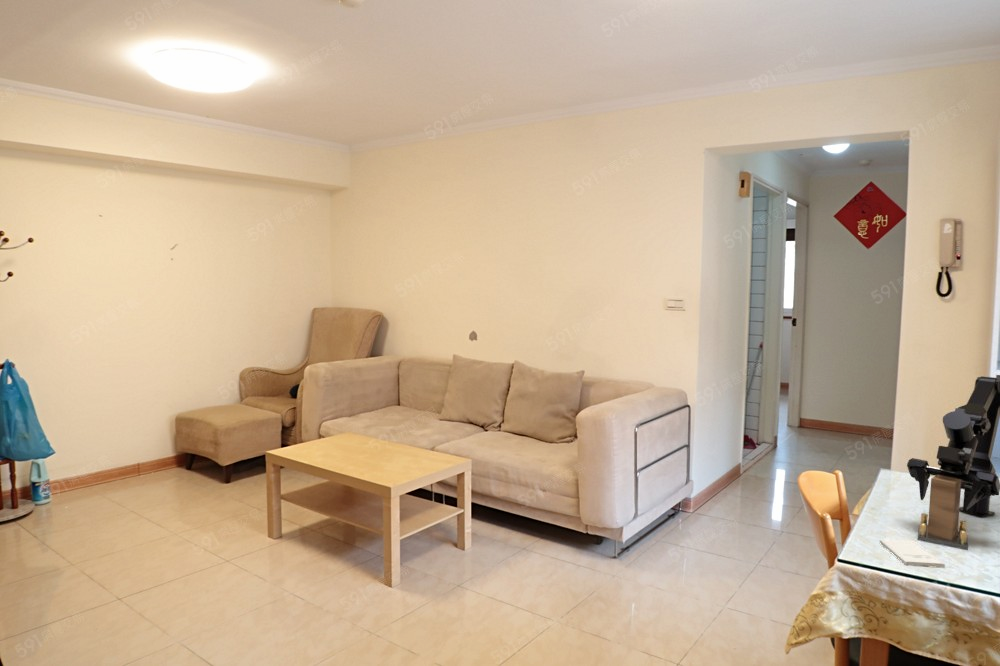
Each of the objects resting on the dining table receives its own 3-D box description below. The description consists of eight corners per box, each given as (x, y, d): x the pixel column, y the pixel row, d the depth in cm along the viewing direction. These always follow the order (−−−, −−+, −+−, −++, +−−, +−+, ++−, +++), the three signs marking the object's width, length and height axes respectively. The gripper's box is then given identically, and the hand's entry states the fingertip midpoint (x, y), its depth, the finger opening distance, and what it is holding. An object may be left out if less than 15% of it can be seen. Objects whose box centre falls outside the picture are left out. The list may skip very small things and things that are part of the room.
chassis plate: (919, 527, 165) (920, 512, 165) (966, 536, 160) (967, 521, 159) (917, 539, 157) (918, 523, 157) (967, 549, 152) (968, 533, 151)
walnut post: (934, 528, 162) (937, 474, 161) (957, 534, 158) (961, 479, 157) (927, 533, 159) (931, 478, 158) (951, 539, 155) (955, 483, 154)
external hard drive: (915, 547, 154) (944, 570, 142) (879, 545, 155) (905, 567, 143) (915, 540, 154) (945, 563, 142) (879, 538, 155) (905, 560, 143)
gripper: (911, 427, 166) (893, 476, 160) (1000, 441, 152) (984, 496, 146) (920, 452, 172) (902, 500, 166) (1006, 468, 158) (991, 521, 151)
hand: (942, 504), depth 157 cm, fingers open, 9 cm apart
